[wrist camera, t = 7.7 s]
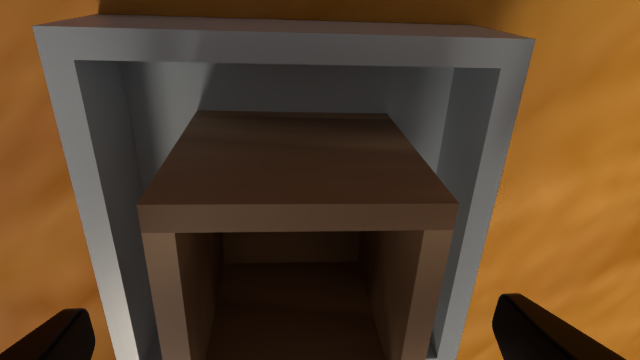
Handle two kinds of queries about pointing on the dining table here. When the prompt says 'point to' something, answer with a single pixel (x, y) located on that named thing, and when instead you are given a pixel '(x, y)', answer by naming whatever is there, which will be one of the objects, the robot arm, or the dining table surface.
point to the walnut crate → (295, 239)
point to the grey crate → (274, 96)
